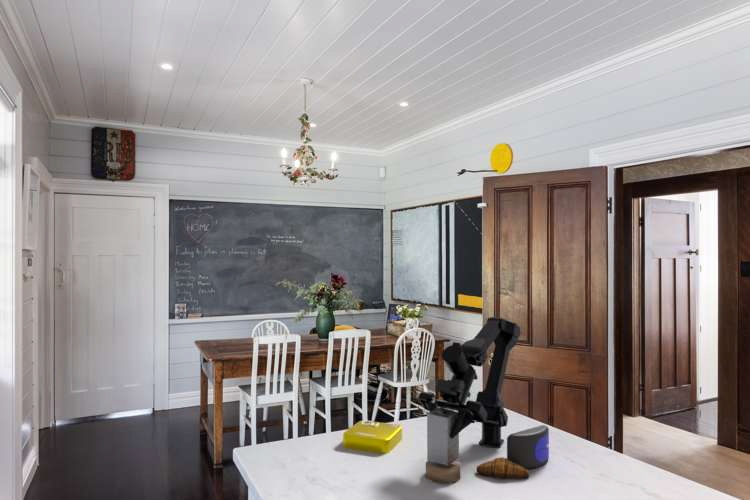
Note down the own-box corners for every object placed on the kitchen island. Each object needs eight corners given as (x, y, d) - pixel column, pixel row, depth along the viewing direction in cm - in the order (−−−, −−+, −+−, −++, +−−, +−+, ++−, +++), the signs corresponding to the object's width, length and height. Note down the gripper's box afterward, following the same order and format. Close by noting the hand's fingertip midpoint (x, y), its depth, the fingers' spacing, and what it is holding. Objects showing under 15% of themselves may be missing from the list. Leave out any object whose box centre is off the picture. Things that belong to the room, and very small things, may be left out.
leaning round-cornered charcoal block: (518, 475, 133) (518, 438, 133) (505, 469, 136) (505, 433, 137) (558, 461, 142) (557, 427, 142) (544, 456, 145) (544, 423, 146)
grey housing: (439, 452, 136) (438, 406, 136) (458, 458, 132) (458, 410, 133) (427, 459, 131) (427, 411, 132) (447, 465, 128) (447, 416, 128)
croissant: (528, 473, 134) (527, 454, 135) (530, 484, 128) (530, 464, 128) (476, 468, 137) (476, 450, 137) (476, 479, 131) (476, 460, 131)
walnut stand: (432, 466, 138) (432, 455, 138) (464, 472, 134) (464, 461, 134) (420, 479, 130) (420, 467, 130) (454, 486, 126) (454, 474, 126)
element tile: (340, 448, 152) (340, 432, 152) (360, 432, 166) (360, 418, 166) (387, 455, 146) (387, 439, 147) (403, 438, 160) (403, 423, 160)
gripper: (420, 362, 141) (398, 411, 132) (482, 371, 130) (461, 426, 121) (435, 385, 147) (414, 433, 138) (495, 395, 136) (477, 449, 127)
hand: (440, 435), depth 131 cm, fingers closed on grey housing, 6 cm apart
